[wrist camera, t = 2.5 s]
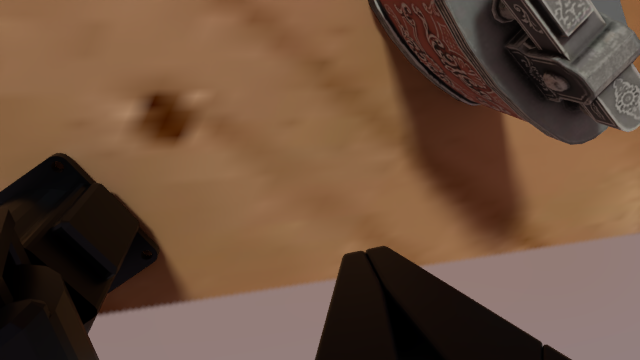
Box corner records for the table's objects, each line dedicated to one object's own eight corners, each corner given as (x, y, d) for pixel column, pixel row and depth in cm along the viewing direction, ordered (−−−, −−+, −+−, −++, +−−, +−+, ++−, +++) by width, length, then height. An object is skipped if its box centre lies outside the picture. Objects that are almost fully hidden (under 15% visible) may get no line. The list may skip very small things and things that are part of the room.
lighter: (512, 65, 21) (726, 106, 12) (462, 117, 21) (629, 196, 12) (404, -67, 18) (576, -151, 9) (349, -3, 18) (456, -19, 9)
